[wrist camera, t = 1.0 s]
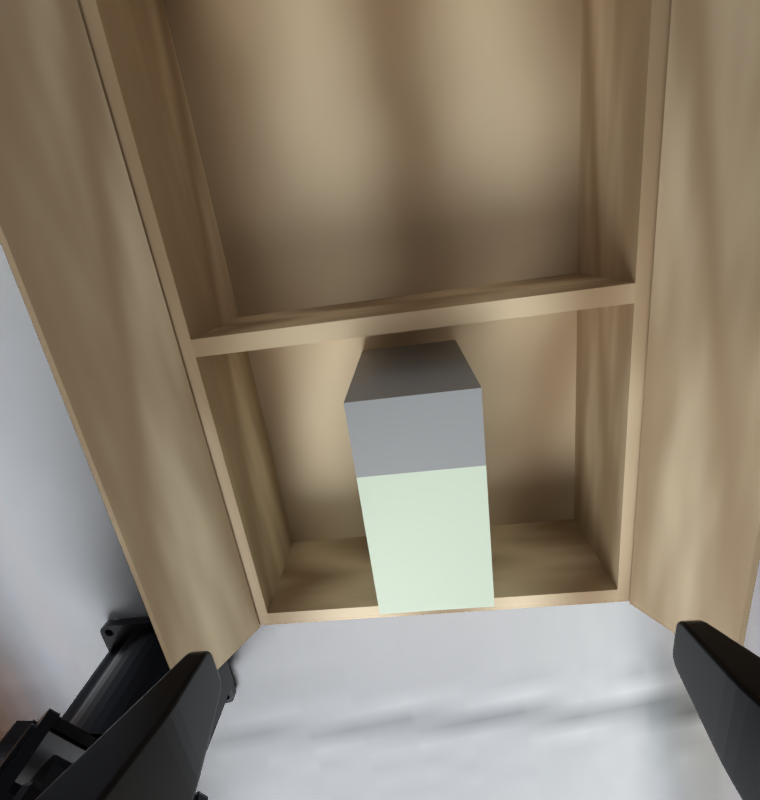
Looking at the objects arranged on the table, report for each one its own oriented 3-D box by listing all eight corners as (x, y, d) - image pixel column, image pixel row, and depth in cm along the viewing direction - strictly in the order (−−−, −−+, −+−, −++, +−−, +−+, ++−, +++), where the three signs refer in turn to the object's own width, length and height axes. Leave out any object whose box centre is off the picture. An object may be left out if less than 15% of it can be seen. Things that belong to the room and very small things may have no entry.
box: (386, 508, 22) (379, 614, 16) (362, 350, 19) (343, 403, 13) (467, 501, 21) (494, 606, 15) (455, 339, 19) (481, 387, 13)
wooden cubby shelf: (251, 550, 23) (177, 701, 16) (96, -4, 16) (-202, -243, 8) (623, 520, 22) (743, 671, 14) (661, -120, 14) (984, -568, 6)
